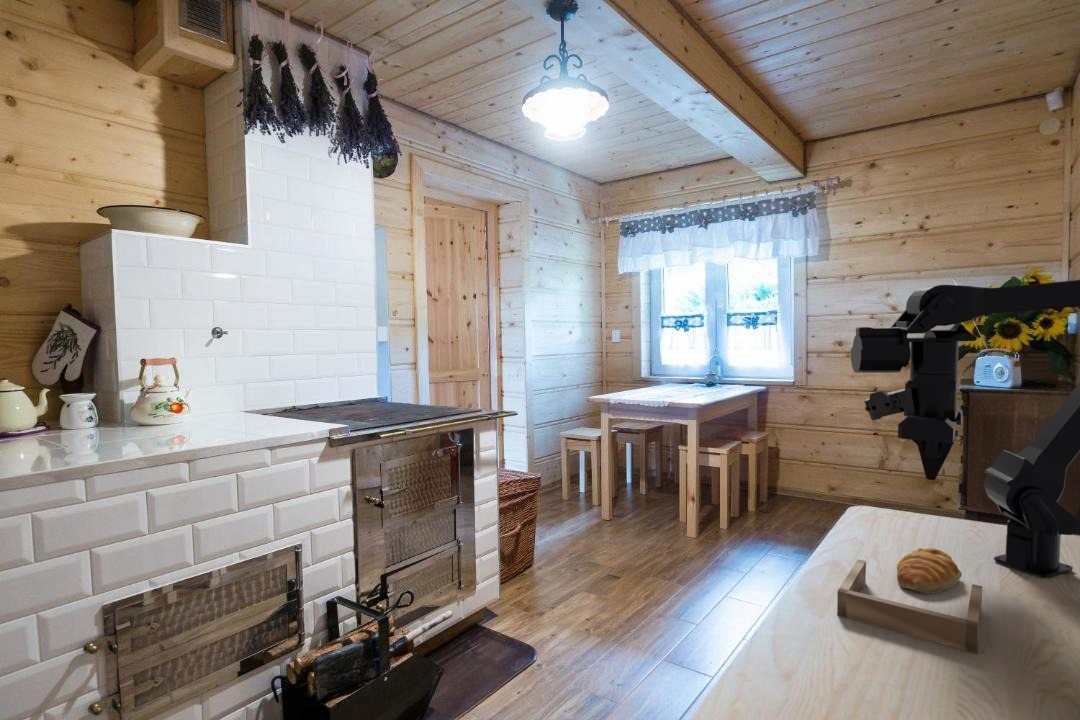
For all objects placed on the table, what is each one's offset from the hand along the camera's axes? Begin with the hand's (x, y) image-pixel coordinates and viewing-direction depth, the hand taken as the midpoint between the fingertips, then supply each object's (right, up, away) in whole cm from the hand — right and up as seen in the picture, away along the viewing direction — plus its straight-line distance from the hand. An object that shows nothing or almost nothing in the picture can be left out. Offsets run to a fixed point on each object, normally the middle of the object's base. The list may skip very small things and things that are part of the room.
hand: (930, 479), depth 85 cm
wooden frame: (-12, -13, -14) cm, 23 cm away
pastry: (-5, -13, -6) cm, 15 cm away
